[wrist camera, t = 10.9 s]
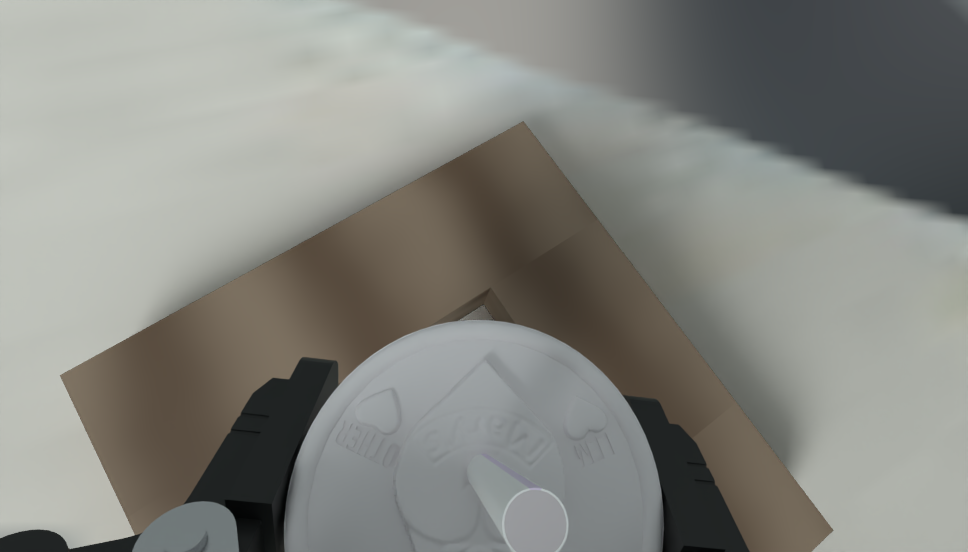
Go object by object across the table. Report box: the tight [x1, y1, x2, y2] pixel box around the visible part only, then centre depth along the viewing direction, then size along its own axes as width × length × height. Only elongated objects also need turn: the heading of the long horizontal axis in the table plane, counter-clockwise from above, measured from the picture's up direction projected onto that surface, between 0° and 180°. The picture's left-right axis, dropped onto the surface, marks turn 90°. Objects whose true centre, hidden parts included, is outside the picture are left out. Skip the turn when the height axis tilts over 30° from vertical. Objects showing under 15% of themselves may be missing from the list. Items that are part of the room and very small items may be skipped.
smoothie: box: [284, 320, 664, 552], centre depth 10 cm, size 6×6×14 cm
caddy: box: [60, 121, 833, 552], centre depth 19 cm, size 20×20×3 cm
